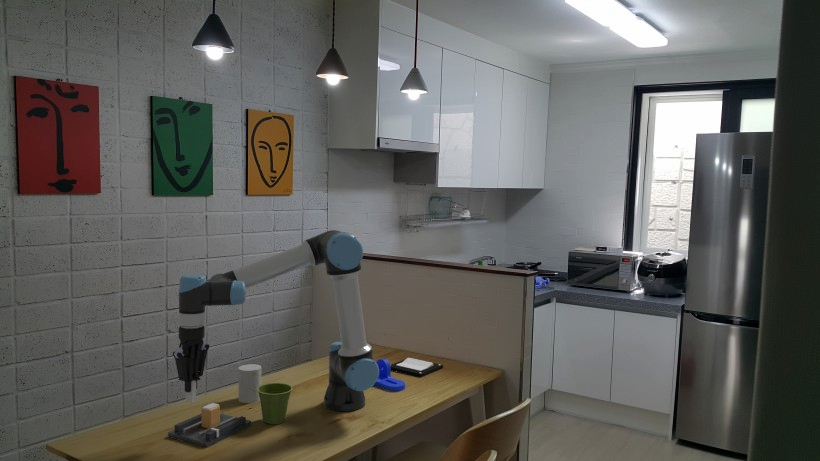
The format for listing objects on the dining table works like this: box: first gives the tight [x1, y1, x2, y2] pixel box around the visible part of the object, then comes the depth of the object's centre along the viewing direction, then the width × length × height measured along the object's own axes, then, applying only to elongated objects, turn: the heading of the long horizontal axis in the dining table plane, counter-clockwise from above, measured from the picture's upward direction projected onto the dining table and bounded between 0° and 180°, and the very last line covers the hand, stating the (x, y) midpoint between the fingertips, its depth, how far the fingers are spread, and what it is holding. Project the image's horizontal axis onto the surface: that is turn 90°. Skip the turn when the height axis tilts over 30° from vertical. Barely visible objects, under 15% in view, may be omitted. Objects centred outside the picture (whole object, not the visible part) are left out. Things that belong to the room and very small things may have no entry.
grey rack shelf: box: [174, 412, 247, 440], centre depth 197 cm, size 16×16×2 cm
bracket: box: [373, 358, 406, 392], centre depth 247 cm, size 18×8×9 cm, turn 45°
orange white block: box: [201, 402, 221, 428], centre depth 197 cm, size 4×4×7 cm
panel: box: [167, 412, 252, 448], centre depth 197 cm, size 16×20×3 cm
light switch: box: [390, 357, 444, 378], centre depth 271 cm, size 18×3×18 cm
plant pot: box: [257, 382, 294, 425], centre depth 207 cm, size 12×12×11 cm
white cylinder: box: [237, 363, 262, 404], centre depth 227 cm, size 8×8×12 cm
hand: (190, 401), depth 189 cm, fingers closed
